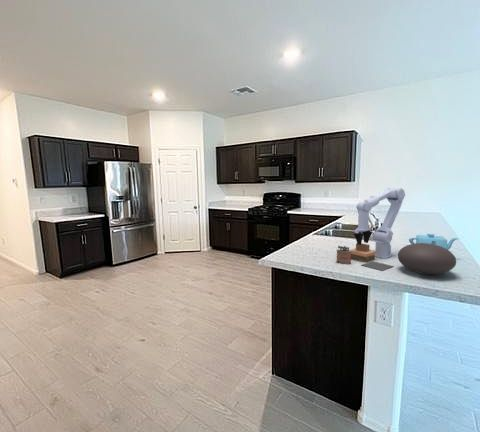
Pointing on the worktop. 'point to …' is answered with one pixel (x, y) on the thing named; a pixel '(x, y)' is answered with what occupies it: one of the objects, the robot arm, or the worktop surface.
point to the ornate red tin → (343, 255)
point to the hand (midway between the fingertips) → (362, 243)
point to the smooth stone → (427, 258)
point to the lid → (363, 250)
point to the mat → (377, 266)
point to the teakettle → (433, 240)
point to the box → (362, 258)
